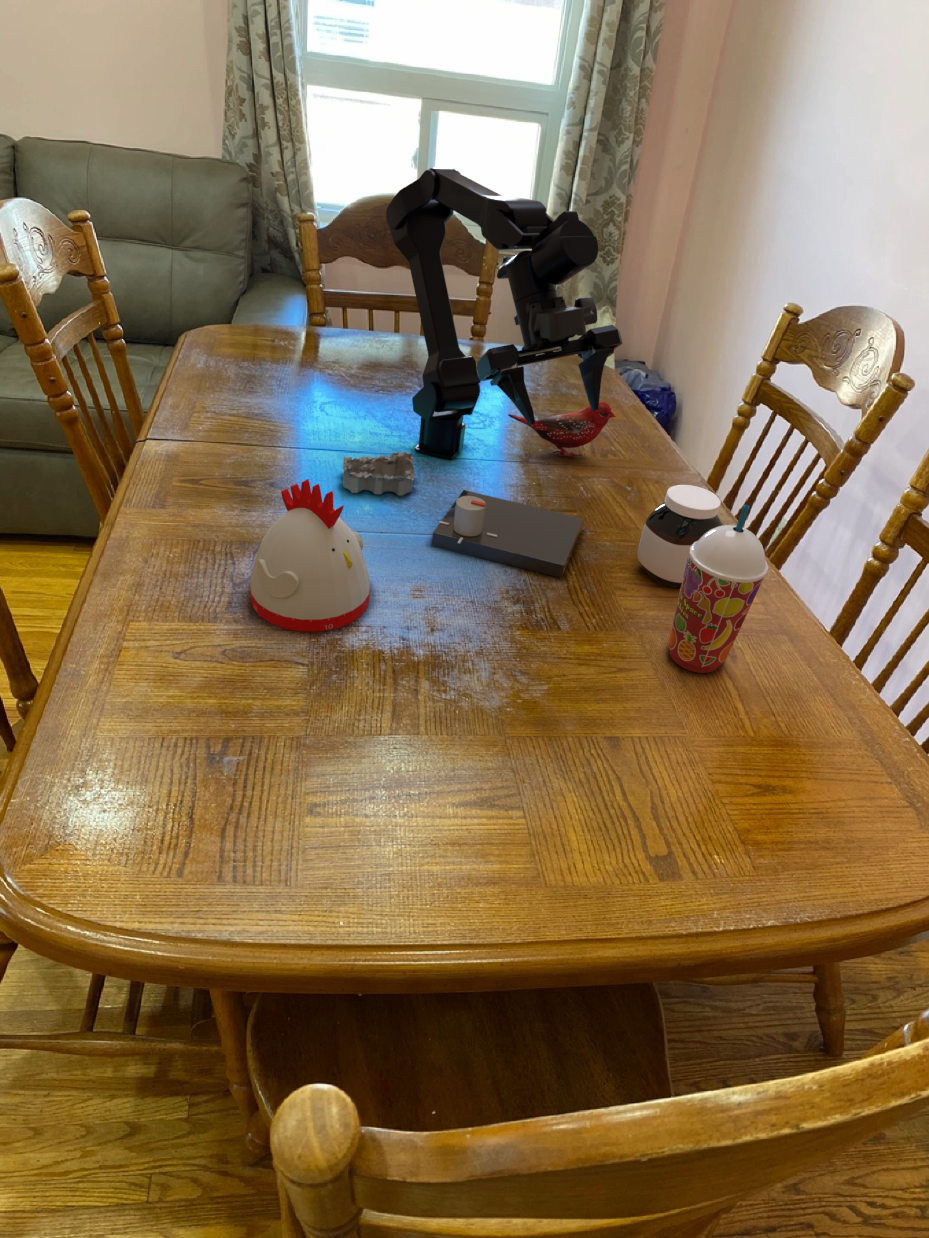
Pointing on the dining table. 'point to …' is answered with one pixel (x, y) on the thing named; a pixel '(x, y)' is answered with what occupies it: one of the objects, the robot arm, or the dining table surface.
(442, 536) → the stove
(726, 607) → the smoothie
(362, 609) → the kitchen timer
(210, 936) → the dining table surface
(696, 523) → the spread jar
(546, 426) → the decorative bird figurine
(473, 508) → the stove knob
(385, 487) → the egg carton
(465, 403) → the robot arm
